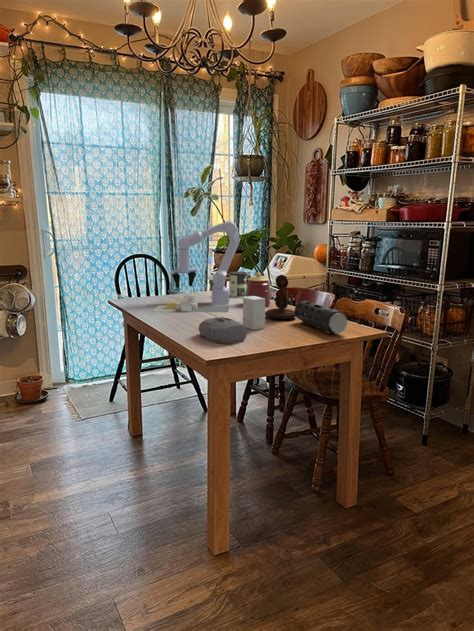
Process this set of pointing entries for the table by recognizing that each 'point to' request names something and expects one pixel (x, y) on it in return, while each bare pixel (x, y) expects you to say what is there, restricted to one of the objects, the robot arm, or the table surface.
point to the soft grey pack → (222, 330)
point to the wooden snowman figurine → (281, 301)
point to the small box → (254, 312)
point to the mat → (199, 309)
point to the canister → (259, 287)
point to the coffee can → (238, 284)
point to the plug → (178, 305)
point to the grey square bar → (187, 303)
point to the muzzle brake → (321, 317)
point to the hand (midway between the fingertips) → (184, 286)
